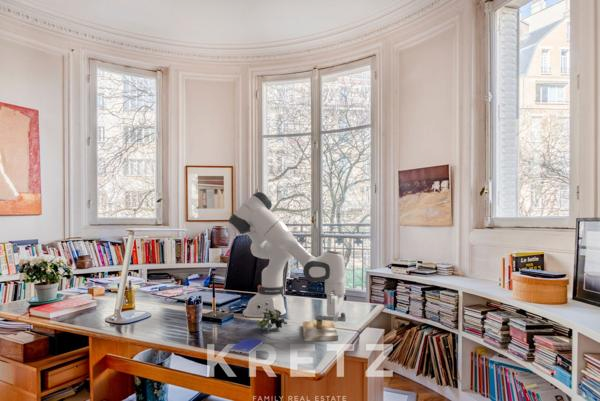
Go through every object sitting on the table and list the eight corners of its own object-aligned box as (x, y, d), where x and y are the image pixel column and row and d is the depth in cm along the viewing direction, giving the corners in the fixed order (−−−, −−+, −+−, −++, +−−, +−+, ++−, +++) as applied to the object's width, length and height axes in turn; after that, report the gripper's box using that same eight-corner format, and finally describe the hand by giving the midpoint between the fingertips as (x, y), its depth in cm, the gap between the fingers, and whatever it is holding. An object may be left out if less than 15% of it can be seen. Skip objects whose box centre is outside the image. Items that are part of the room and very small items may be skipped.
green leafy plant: (277, 340, 172) (292, 319, 171) (265, 343, 162) (281, 321, 161) (261, 323, 177) (275, 303, 176) (248, 325, 167) (264, 304, 166)
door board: (304, 341, 155) (304, 327, 155) (302, 325, 176) (302, 313, 176) (338, 340, 156) (338, 327, 156) (332, 324, 177) (332, 313, 177)
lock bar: (314, 320, 164) (314, 312, 164) (316, 318, 167) (316, 310, 168) (344, 322, 161) (344, 314, 161) (345, 320, 164) (345, 312, 164)
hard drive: (248, 350, 142) (262, 340, 154) (229, 348, 145) (245, 337, 157) (248, 355, 142) (262, 344, 154) (229, 352, 145) (245, 341, 157)
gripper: (338, 293, 152) (338, 328, 151) (346, 285, 172) (346, 315, 171) (322, 293, 154) (323, 327, 153) (332, 284, 173) (333, 315, 173)
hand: (335, 321), depth 162 cm, fingers closed
